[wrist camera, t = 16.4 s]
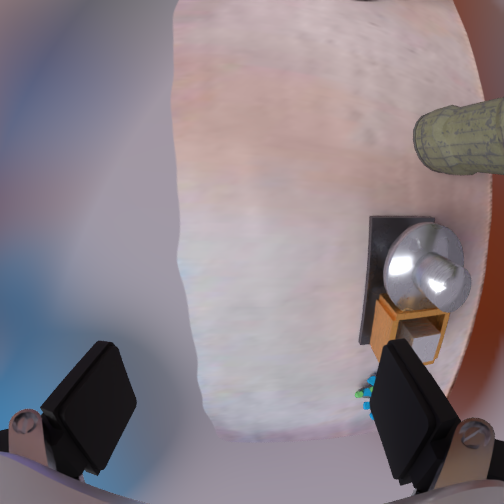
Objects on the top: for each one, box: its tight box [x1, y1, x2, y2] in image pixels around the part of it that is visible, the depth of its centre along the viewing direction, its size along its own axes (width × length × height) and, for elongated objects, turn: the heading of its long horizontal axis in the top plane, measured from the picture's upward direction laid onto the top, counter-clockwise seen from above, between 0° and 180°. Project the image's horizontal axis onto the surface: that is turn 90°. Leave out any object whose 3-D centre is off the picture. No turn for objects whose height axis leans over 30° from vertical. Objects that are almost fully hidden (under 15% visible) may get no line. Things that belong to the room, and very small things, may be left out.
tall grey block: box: [395, 317, 441, 363], centre depth 33 cm, size 4×4×10 cm
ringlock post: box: [359, 216, 471, 365], centre depth 31 cm, size 22×11×14 cm, turn 3°
